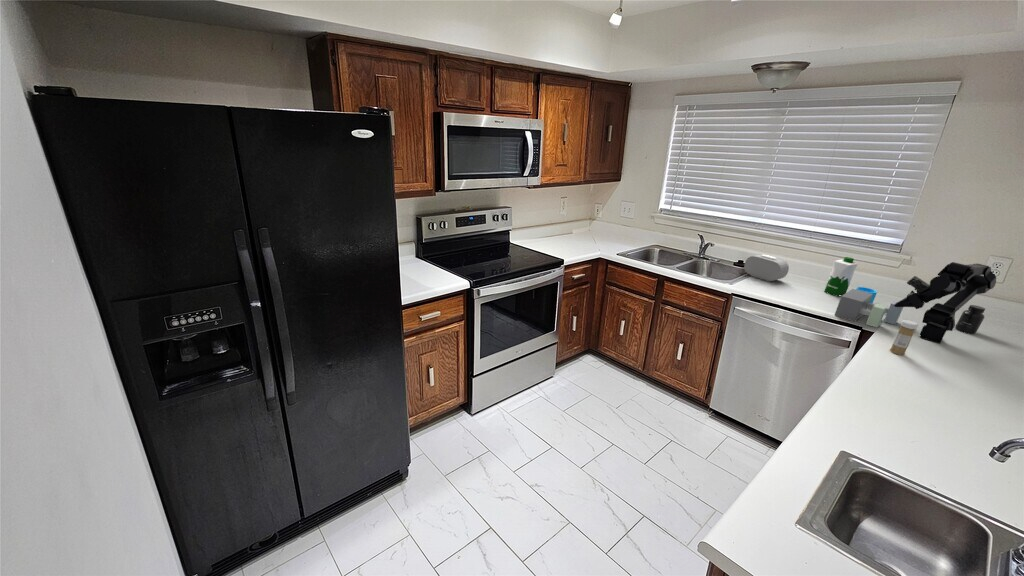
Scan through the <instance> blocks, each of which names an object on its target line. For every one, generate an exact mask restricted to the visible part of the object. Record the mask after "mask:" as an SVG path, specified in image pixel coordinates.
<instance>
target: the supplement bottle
mask: <svg viewBox="0 0 1024 576" xmlns="http://www.w3.org/2000/svg"><path fill="white" fill-rule="evenodd" d="M985 310H986V308H984V307H982V306H979V305H975V304H970V305H969V306H968V308H967V309H966V310H963V311H962V313H961V315H960V316H959V318H958V321H957V322H956V323H955V326H954V328H955V329H956V330H957V331H958V332H961V333H964V332H965V334H968V333H969V335H975V334H976V333H977V332H978V330H979V329H980V327H981V324H982V323H983V321H984V319H985V314H984V313H985Z"/></svg>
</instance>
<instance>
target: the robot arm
mask: <svg viewBox="0 0 1024 576" xmlns="http://www.w3.org/2000/svg"><path fill="white" fill-rule="evenodd" d="M906 284H907V285H909V286H911V287H913V288H914V290H911V291H910V293H908V294H907V295H906V297H904V298H903V299H901V300H899V301H896V302H897V303H896V304H895V305H894V306H895V307H903V308H915V309H916V310H918V309H922V308H924V306H925V304H928V303H929V302H931V301H935V300H940V299H943V297H946V296H950V295H952V296H951V297H950V298H948V300H946V302H944V303H943V304H942V303H939V302H937V303H935V304H934V305H933V306H932V307H930V308H929V309H927V310H926V311H925V312H924V314H923V318H922V323H924V325H923V326H922V329H921V331H920V333H919V335H920V336H919V338H921V339H924V340H927V341H930V342H934V343H937V344H941V343H942V341H943V339H944V337H945V334H946V332H949V331H950V332H952V331H953V330H954V328H955V326H956V320H955V318H956V312H957V311H960V309H961V308H962V307H963V306H965V305H966V304H967V303H968V302H969V301H970V300H972V299H973V298H974V297H975V296H976V295H982V294H986V293H988V292H989V291H990V290H993V289H994V287H995V286H996V284H997V276H996V274H994V272H993V271H992V267H991V266H990V265H986V264H982V263H973V264H964V263H958V262H955V261H953V262H950V263H948V264H946V265H945V266H944V267H943V269H941V270H940V271H939V272H938V273H937V276H934V277H933V278H932V279H930V281H929V284H928V283H927V282H926V281H924V280H923V279H921V278H919V277H918V276H916V275H915V276H913V277H911V278H910V279H909V280H907V282H906ZM953 294H954V295H953Z"/></svg>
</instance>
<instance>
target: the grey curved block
mask: <svg viewBox="0 0 1024 576" xmlns="http://www.w3.org/2000/svg"><path fill="white" fill-rule="evenodd" d="M856 289H857V288H856ZM856 289H855V288H852V289H850V290H849V291H848V290H847V292H846V293H845V294H844V295H842V296H840V299H839V302H838V305H837V307H836V310H835V312H834V316H835V317H839V318H840V319H845V320H847V321H851V322H854V323H855V322H856V321H858V320H859V319H860V318H861V317H862V316H863V314H861V313H859V311H860V308H864V309H867V310H868V308H867V307H866V306H867V303H868V302H869V303H870V300H871V298H872V295H873V294H871V293H867V292H863V291H860V290H856ZM858 318H859V319H858Z"/></svg>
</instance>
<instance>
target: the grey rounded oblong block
mask: <svg viewBox="0 0 1024 576" xmlns="http://www.w3.org/2000/svg"><path fill="white" fill-rule="evenodd" d="M743 268H744V271H745V273H747V274H748V275H749V276H750V277H754V278H757V279H760V280H763V281H766V282H773V281H777V280H781V279H784V278H785V277H786V276H787V275H788V273H789V269H790V268H789V263H788V262H787V261H785V260H784V259H781V258H777V257H775V256H771V255H768V254H755V255H752V256H748V257H747V258H746V260H745V262H744V267H743Z"/></svg>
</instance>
